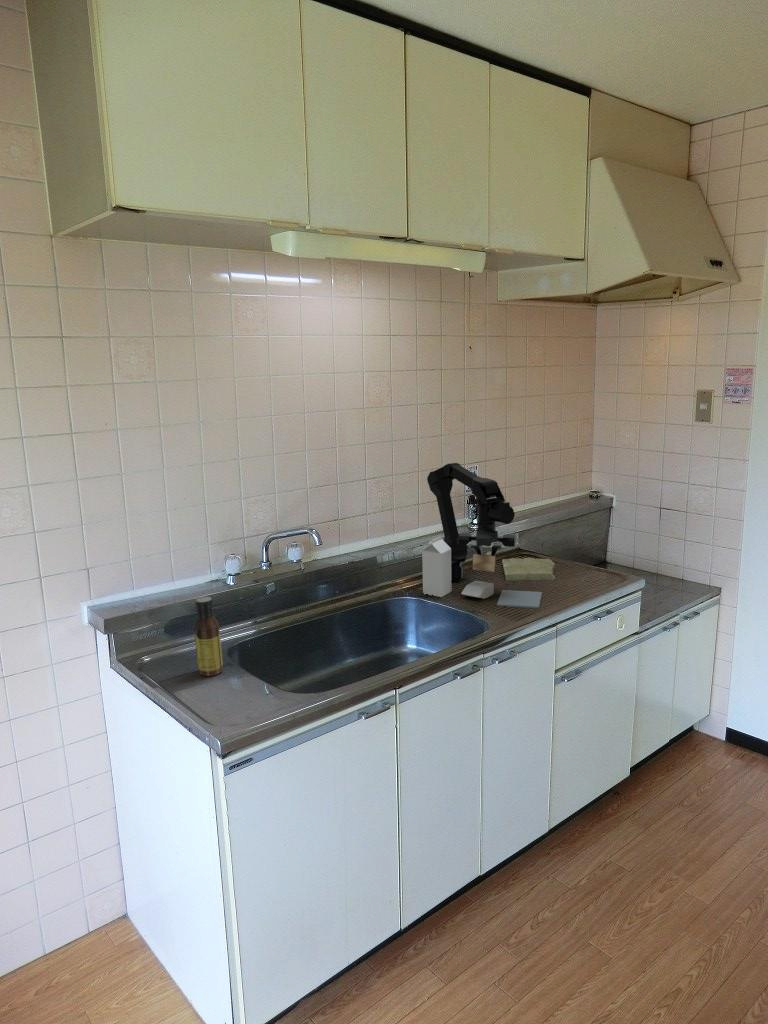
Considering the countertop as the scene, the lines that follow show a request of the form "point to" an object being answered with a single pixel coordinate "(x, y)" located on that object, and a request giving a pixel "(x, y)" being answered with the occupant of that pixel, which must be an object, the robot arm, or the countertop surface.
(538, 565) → the decorative tile
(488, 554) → the wooden t-shaped block
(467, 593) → the paper bag
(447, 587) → the milk carton
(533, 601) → the tool mat
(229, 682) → the countertop surface
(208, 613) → the sauce bottle
